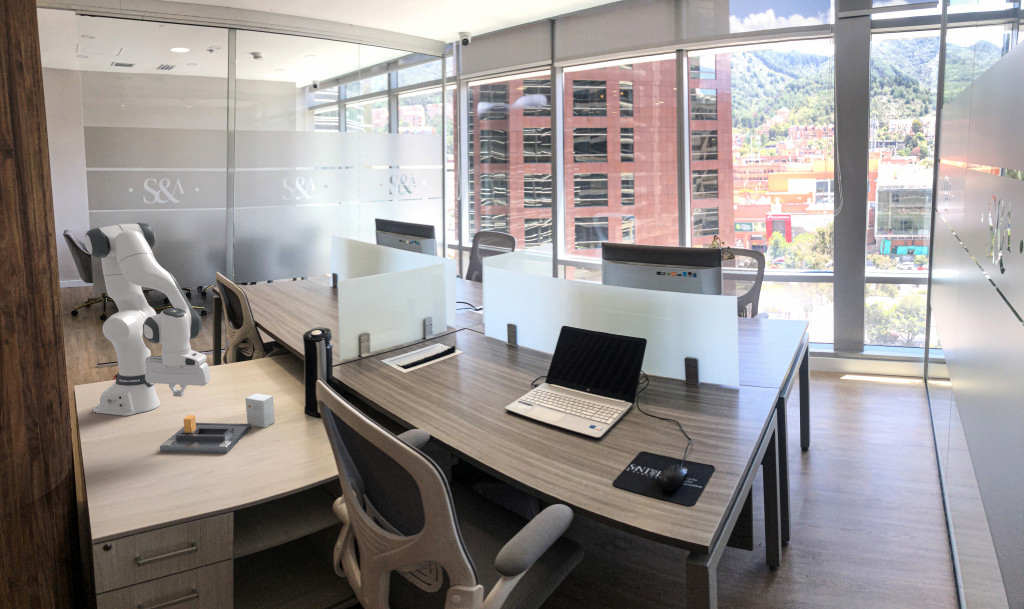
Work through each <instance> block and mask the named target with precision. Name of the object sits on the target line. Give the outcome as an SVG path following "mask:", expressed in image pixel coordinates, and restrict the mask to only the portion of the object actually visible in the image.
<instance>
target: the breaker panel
mask: <svg viewBox="0 0 1024 609" xmlns="http://www.w3.org/2000/svg"><path fill="white" fill-rule="evenodd" d="M196 428H199V433H198V434H182V432H183V431H184V426H183V427H181V428H180V429H179V430H178V431H176V432H175V433H174V434H173V435H172V436H171V437H169V438H168V439H167V440H165V442H163V443H162V444H161V445H159V452H160V453H193V454H194V453H195V454H198V453H199V454H228V453H229V452H230V451H231V450H232V449H233V448H234V447H235V446H236V445H237V444H238V443H239V442H240V441H241V440H242V439H243V437H244V436H246V434H248V432H249V430H248V426H217V425H196ZM239 440H240V441H239Z"/></svg>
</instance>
